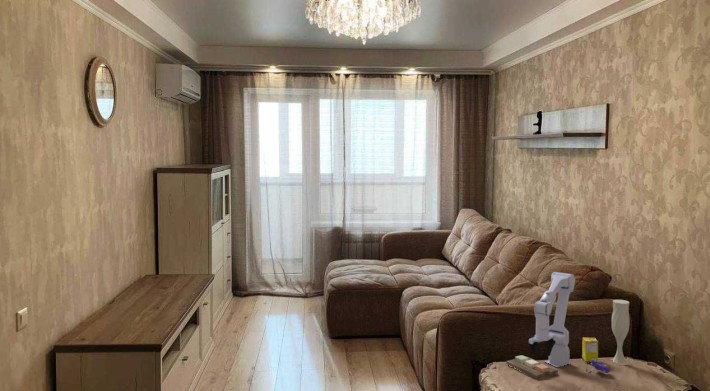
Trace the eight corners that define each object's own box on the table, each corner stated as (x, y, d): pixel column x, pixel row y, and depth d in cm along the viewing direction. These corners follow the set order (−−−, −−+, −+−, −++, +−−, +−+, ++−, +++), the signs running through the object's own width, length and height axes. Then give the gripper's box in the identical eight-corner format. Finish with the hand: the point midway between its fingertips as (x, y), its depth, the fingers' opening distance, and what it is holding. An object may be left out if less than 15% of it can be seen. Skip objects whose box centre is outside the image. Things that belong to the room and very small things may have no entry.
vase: (632, 365, 270) (634, 304, 268) (614, 365, 271) (616, 304, 268) (623, 359, 279) (625, 299, 277) (606, 359, 279) (608, 299, 277)
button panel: (526, 360, 279) (526, 356, 278) (557, 374, 261) (558, 370, 261) (506, 365, 273) (506, 361, 273) (536, 379, 255) (536, 375, 255)
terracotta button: (541, 369, 264) (541, 363, 264) (548, 372, 260) (549, 367, 260) (534, 370, 262) (534, 365, 262) (541, 374, 258) (541, 368, 258)
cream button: (531, 364, 270) (531, 359, 269) (538, 367, 266) (538, 362, 265) (524, 366, 268) (524, 361, 267) (531, 369, 264) (531, 364, 264)
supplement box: (594, 359, 280) (594, 337, 279) (598, 363, 274) (598, 341, 273) (581, 358, 280) (582, 337, 280) (585, 363, 274) (585, 341, 274)
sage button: (521, 360, 275) (522, 355, 275) (528, 363, 271) (528, 358, 271) (515, 361, 273) (515, 356, 273) (521, 364, 270) (521, 359, 269)
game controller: (616, 365, 262) (608, 366, 254) (609, 380, 263) (601, 382, 256) (596, 353, 268) (588, 355, 261) (589, 369, 270) (581, 370, 262)
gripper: (547, 323, 266) (547, 351, 267) (524, 327, 260) (523, 356, 261) (559, 327, 260) (558, 356, 261) (535, 331, 253) (534, 361, 254)
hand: (541, 356), depth 260 cm, fingers open, 7 cm apart
